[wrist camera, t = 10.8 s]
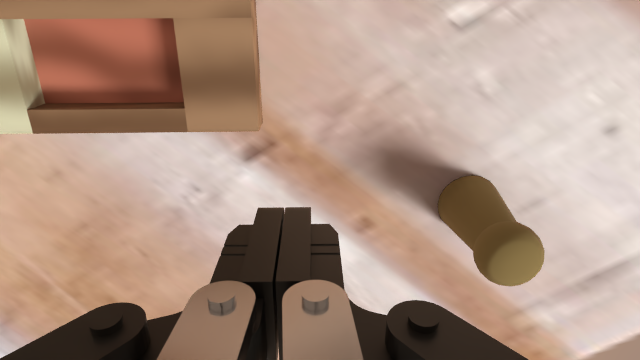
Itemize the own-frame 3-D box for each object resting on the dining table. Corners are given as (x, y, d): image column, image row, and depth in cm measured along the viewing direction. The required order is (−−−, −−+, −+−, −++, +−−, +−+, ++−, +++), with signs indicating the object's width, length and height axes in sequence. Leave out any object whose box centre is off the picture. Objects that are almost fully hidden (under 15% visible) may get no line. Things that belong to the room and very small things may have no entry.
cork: (431, 186, 41) (471, 244, 31) (492, 167, 40) (553, 221, 30) (444, 236, 43) (485, 307, 33) (502, 220, 43) (562, 286, 32)
